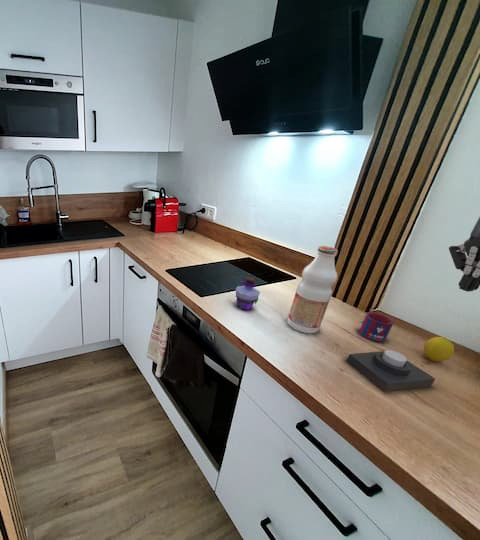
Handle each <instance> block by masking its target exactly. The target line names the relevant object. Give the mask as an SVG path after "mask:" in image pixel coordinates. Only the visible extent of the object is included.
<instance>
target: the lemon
mask: <svg viewBox="0 0 480 540" xmlns="http://www.w3.org/2000/svg"><path fill="white" fill-rule="evenodd" d="M454 352H455V345H454V344H453V342H452V341H451V340H450V339H448V338H447V337H445V336H434V337H431V338H429V339H428V340H427V341H426V342H425V344H424V345H423V353H424V355H425V356H426V357H427V358H429V360H430V361H431V362H435V361H436V362H443V361H447V360H449V359H450V358H451V357H452V356H453V354H454Z"/></svg>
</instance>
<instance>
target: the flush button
mask: <svg viewBox="0 0 480 540" xmlns="http://www.w3.org/2000/svg"><path fill="white" fill-rule="evenodd" d="M384 351H385V352H384V354H383V356H382V359H383V360H384V361H385V362H387V363H389V364H391V365H393V366H397V367H403V366H404V364H405V363H406V361H408V359H407V357H406V356H404V355H403V354H402V353H400V352H397V351H395V350H391V349H390V350H389V349H387V350H384Z"/></svg>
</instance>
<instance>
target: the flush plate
mask: <svg viewBox="0 0 480 540" xmlns="http://www.w3.org/2000/svg"><path fill="white" fill-rule="evenodd" d="M385 351H386V350H381V351H371V352H370V351H369V352H359V353H356V352H355V353H349V354H348V356H347V358H346V363H347V364H349V365H350V366H351V367H353V369H355V370H356V371H357V372H358V373H360V374H361V375H363V377H365V378H366V379H368V380H369V381H370V382H371V383H372V384H374V385H375V386H376V387H377V388H379V389H380V390H381V391H382V392H385V393H386V392H394V391H404V390H414V389H421V388H432V385H433V384H434V382H435V381H436V378H435V377H433V376H432V375H430V374H429V373H428V372H426V371H424V370H423V369H421V368H419V367H418V366H417V365H415V364H413V363H412V362H410V361H409V360H407V361H406V363H405V364H404V366H403V367H397V366H393V365H391V364H389V363H387V362H385V361H384V360H383V359H382V356H383V354H384V352H385Z"/></svg>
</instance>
